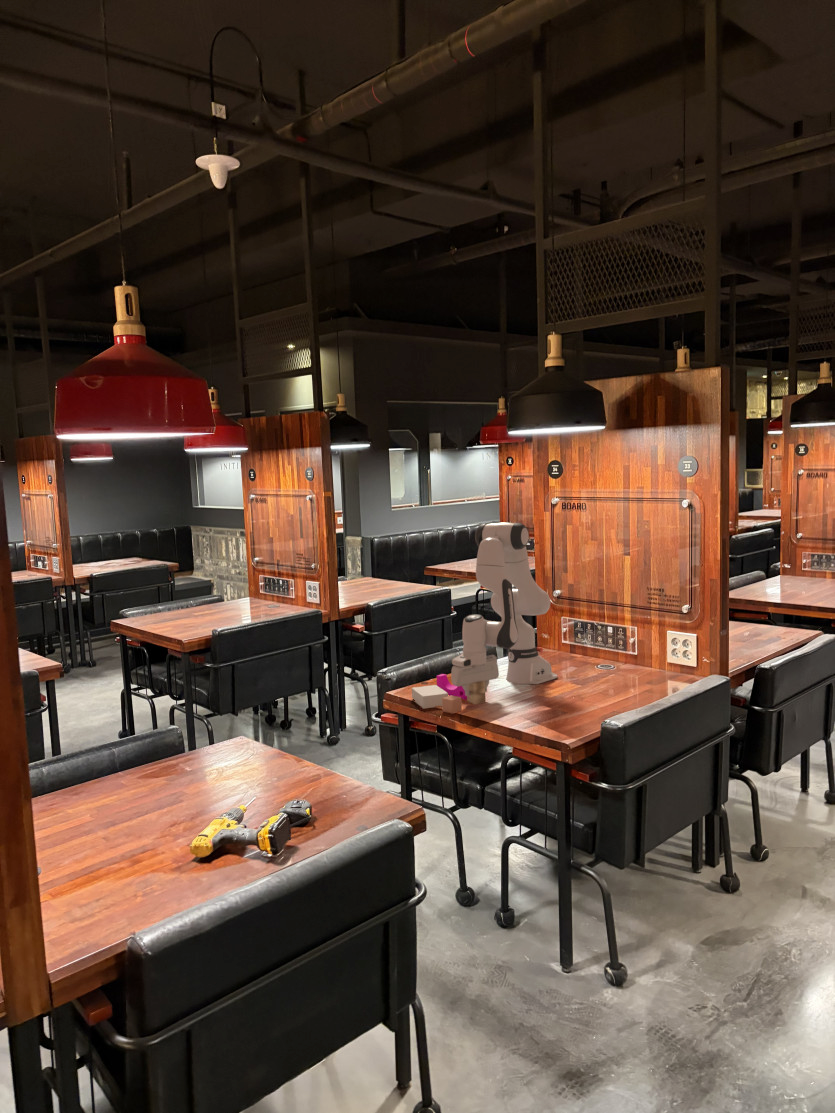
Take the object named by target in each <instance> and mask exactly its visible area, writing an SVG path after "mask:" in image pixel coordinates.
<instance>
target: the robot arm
mask: <svg viewBox="0 0 835 1113" xmlns="http://www.w3.org/2000/svg"><path fill="white" fill-rule="evenodd" d="M529 538H530V534H529V529H528V527H527V526H526V525H525V524H524V523H520V522H515V523H514V522H507V521H506V522H494V523H493V522H491V523H487V522H486V523H481V524H479V526H478V527H477V528H476V529H475V534H474V539H475V540H474V541H475V543H476V546H477V547H478V550H477V555H476V563H475V564H476V565H475V578H476V580H477V582H478V584H479V585H480V586H481V587H483V588H484V589H485V590H488V591H490V592H492V595H491V598H490V605H491V606H490V607H491V608H492V610H494V612H495V613H497V614H498V616H500V617H501V621H495V620H493V621H492V620H487V619H485V618H484V616H482V614H469V615H466V616H465V617H464V618H463V621H462V629H461V632H462V638H461V639H462V642H463V648H462V653H460V654H459V655H457V656H456V657H454V658H452V660H451V664H452V665H453V666H452V667H451V673H450V676H451V677H450V679H451V680H450V681H451V683H452V684H451V685H455V686H462V687H463V689H464V690H465V695H466V696H469V695H471V691H469V690H468V688H467V687H468V684H473V683H476V682H481V681H485V693H487V692H488V686H489V684H490V681H492V680H496V679H498V678H499V675H500V672H499V665H498V657H497V656H496V655H494V654H490V655H487V648H486V646H488V647H496V648H500V649H506V650H507V660H508V664H507V672H506V678H505V681H506V680H507V682H508V683H510V682H511V683H510V684H517V685H540V684H542V683H545V682H548V681H552V680H555V679H557V678H558V674H556V673H554V672H553V671H552V670H553V669H552V666H551V664H550V662H549V661H548V660H546V659H545V658H543V657H542V656H541V655H540V654H539V653H542V652H543V651H544V648H543V647H540V646H536V643H535V642H536V639H535V638H536V635H535V629H534V627H533V626H532V625H531V624H529V623H528V622H526V620H524V618H523V616H541V615H545V614H547V612H548V611H549V609H550V608H551V603H552V602H551V598H550V595H549V593H547V591H545V590H544V589H543V588H541V587H540V586H539V585H538V584H537V582H536V581H535V580H534V577H533V576H532V573H531V572H532V571H531V569H530V562H529V556H528V550H527V545H528V543H529V540H530V539H529ZM512 585H513V586H514V588H513V587H512Z"/></svg>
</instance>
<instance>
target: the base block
mask: <svg viewBox="0 0 835 1113" xmlns="http://www.w3.org/2000/svg"><path fill="white" fill-rule="evenodd" d="M447 696H448V693H447V692H445V691H444V690H443V689H441V688H440V687H438V686H437V684H432V685H423V686H415V687H414V686H413V687H411V699H412V698H413V699H414V700H415V701H416V702H415V701H414V702H415V704H417V705H418V706H420V707H421V708H422V709H424V710H425V709H429V708H436V707H435V706H440V707H442V698H444V697H447Z"/></svg>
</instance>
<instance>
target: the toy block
mask: <svg viewBox="0 0 835 1113" xmlns="http://www.w3.org/2000/svg"><path fill="white" fill-rule="evenodd" d="M436 685H437V686H438V687H440V688H441V689H443V690H444V691H445V692H447V693H448V695H449V696H450V695H452V696H457V697H461V700H466V701H467V696H466V695H465V690H464V689H463V687H462V686H455V685H453V684H451V683H450V681H449V679H448V675H447V674H446V673H440V674H438V675H436Z"/></svg>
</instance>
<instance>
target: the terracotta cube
mask: <svg viewBox="0 0 835 1113" xmlns="http://www.w3.org/2000/svg"><path fill="white" fill-rule="evenodd" d="M441 708H442V712H444V713H449V714H455V713H458V712H460V711H461V712H462V711H463V710H462V709H463V707H462V699H461V697H457V696H452V695H450V696H447V697H444V698H442V706H441Z"/></svg>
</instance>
